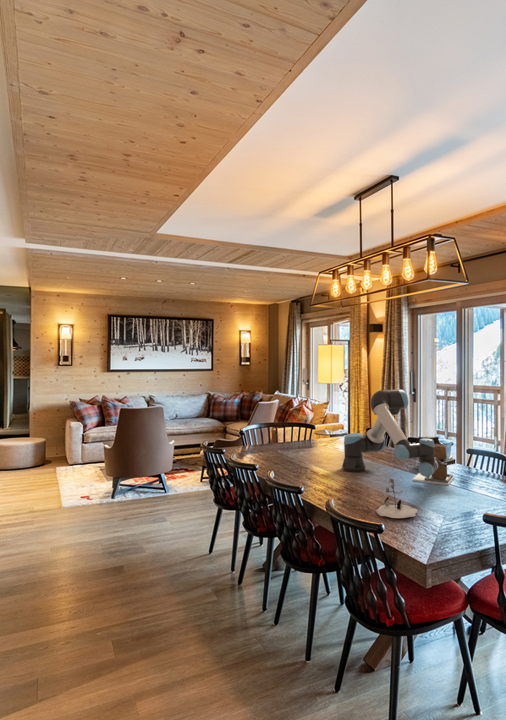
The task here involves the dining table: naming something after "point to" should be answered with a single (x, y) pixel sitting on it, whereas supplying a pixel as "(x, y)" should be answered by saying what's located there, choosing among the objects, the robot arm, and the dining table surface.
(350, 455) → the robot arm
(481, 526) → the dining table surface
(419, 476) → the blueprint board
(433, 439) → the owl
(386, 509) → the figurine
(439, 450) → the block
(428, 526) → the dining table surface
